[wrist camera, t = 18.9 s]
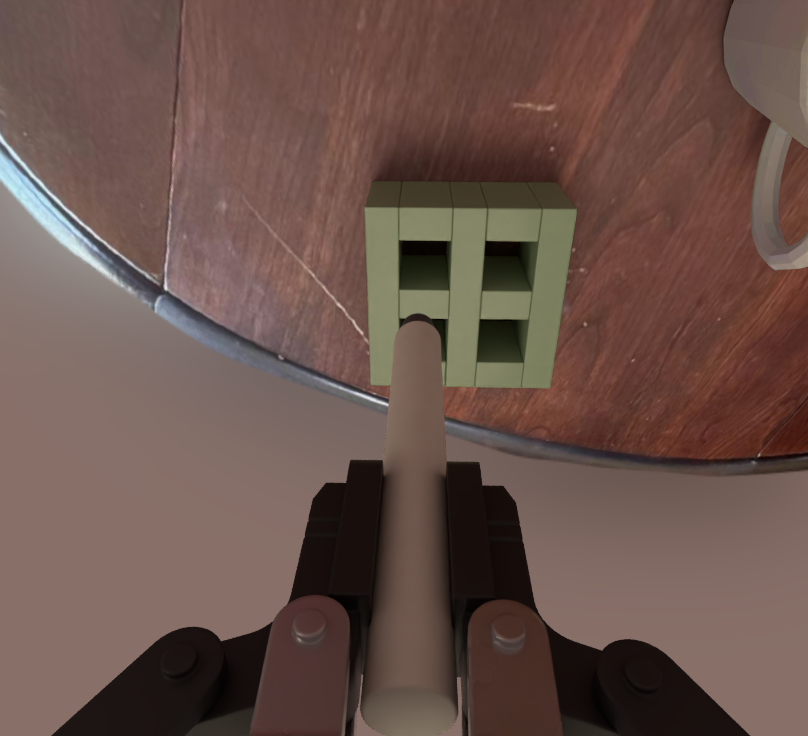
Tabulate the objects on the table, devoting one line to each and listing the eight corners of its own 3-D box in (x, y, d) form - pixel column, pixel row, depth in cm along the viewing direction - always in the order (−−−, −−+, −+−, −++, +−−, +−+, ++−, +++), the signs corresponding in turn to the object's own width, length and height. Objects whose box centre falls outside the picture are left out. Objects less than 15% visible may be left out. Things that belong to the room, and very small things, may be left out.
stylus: (396, 345, 21) (361, 740, 9) (395, 306, 20) (358, 685, 9) (439, 346, 20) (456, 743, 9) (440, 306, 20) (460, 688, 9)
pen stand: (376, 342, 37) (370, 385, 32) (372, 180, 31) (364, 206, 27) (535, 344, 36) (550, 388, 32) (556, 182, 31) (578, 208, 27)
